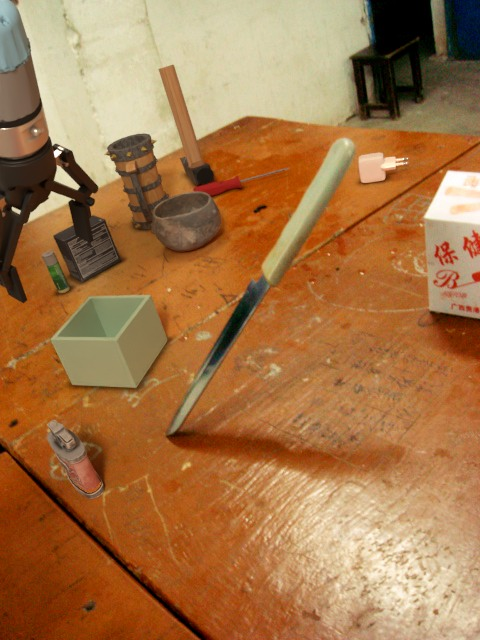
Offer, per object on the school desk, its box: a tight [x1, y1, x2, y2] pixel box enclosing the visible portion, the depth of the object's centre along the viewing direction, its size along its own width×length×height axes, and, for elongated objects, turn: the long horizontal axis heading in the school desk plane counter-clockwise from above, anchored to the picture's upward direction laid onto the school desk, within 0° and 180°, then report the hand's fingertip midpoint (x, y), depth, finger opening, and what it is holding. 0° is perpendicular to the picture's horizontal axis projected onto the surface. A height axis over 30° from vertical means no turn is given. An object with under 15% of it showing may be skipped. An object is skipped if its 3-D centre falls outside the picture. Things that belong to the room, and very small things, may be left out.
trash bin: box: [49, 294, 169, 389], centre depth 107 cm, size 13×13×10 cm
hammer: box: [158, 64, 215, 186], centre depth 170 cm, size 20×5×30 cm, turn 17°
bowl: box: [150, 191, 222, 252], centre depth 139 cm, size 14×15×10 cm
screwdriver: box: [192, 167, 291, 197], centre depth 162 cm, size 4×25×4 cm, turn 97°
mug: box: [103, 132, 170, 230], centre depth 152 cm, size 13×17×20 cm
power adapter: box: [357, 151, 410, 184], centre depth 146 cm, size 11×5×6 cm, turn 78°
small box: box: [52, 214, 122, 283], centre depth 141 cm, size 11×6×10 cm, turn 130°
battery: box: [41, 249, 71, 295], centre depth 135 cm, size 3×3×10 cm
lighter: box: [46, 419, 106, 500], centre depth 85 cm, size 8×3×10 cm, turn 40°
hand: (52, 266), depth 90 cm, fingers open, 13 cm apart
